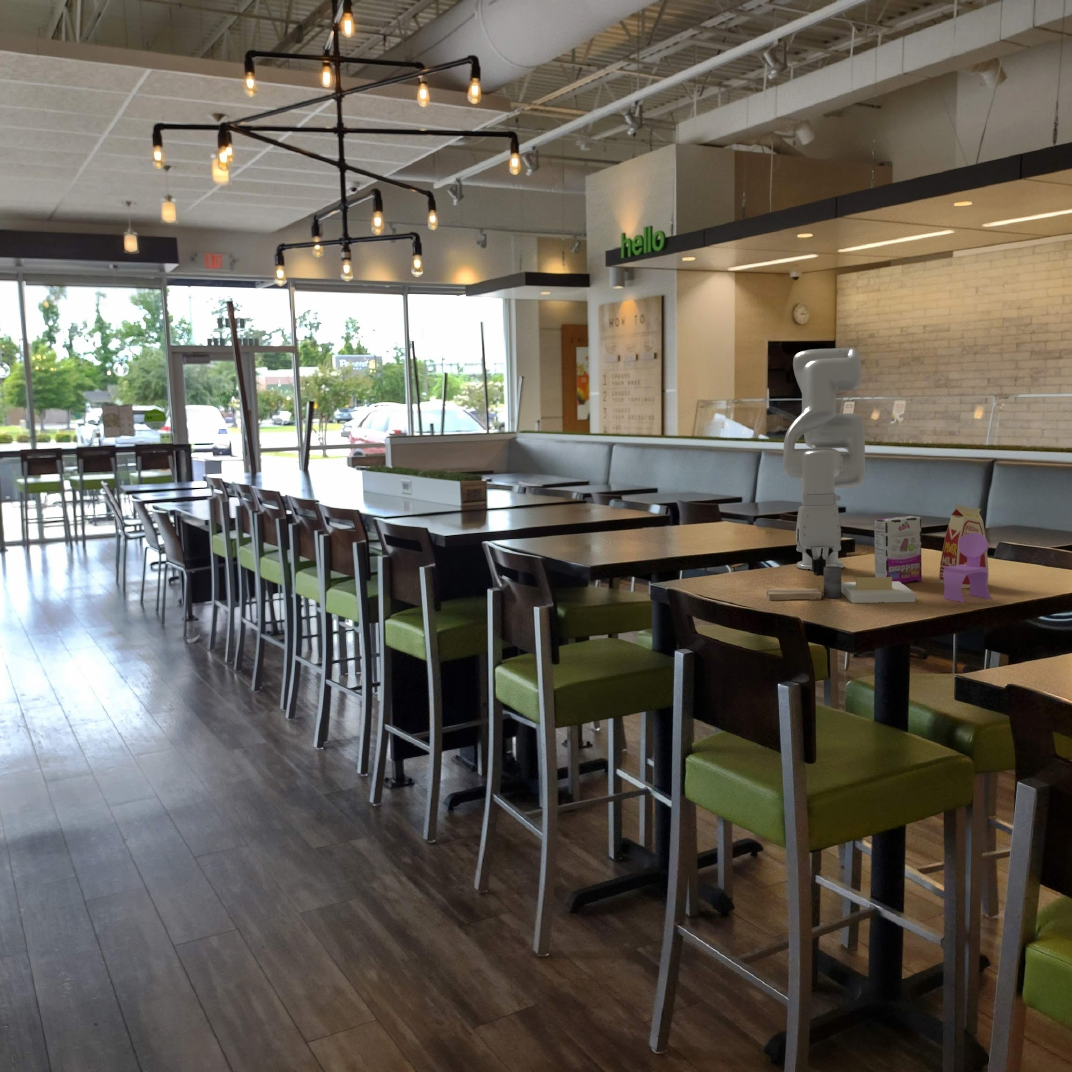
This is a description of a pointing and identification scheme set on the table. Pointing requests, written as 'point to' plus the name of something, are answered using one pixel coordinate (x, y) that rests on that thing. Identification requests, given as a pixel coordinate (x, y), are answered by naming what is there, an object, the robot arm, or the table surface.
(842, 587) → the butter dish
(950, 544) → the milk carton
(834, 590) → the jamb
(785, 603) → the table surface
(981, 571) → the toy chair
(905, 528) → the candy bar box
